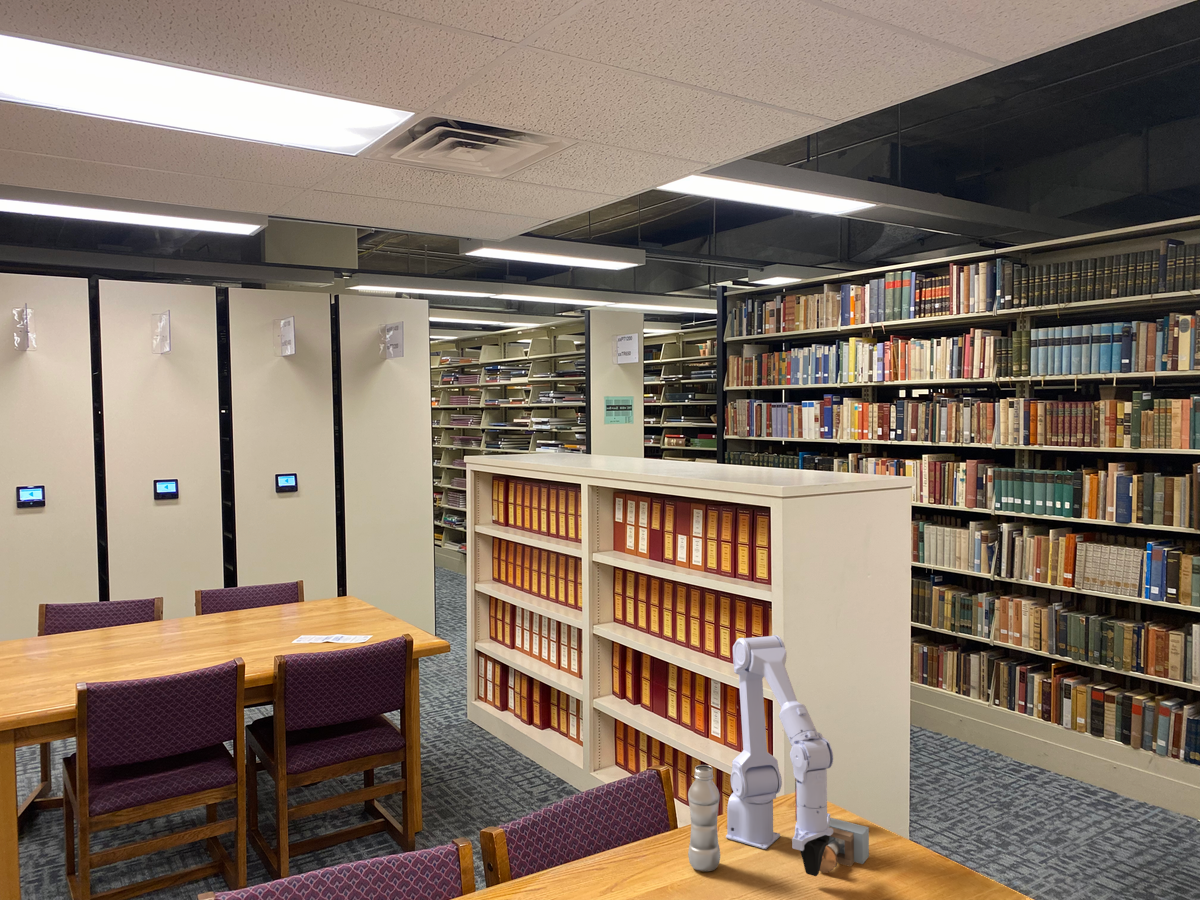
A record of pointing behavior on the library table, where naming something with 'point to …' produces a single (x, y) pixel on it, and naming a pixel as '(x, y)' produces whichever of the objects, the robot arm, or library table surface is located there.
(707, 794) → the plastic bottle
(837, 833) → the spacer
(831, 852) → the shaft
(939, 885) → the library table surface
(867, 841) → the bearing block
